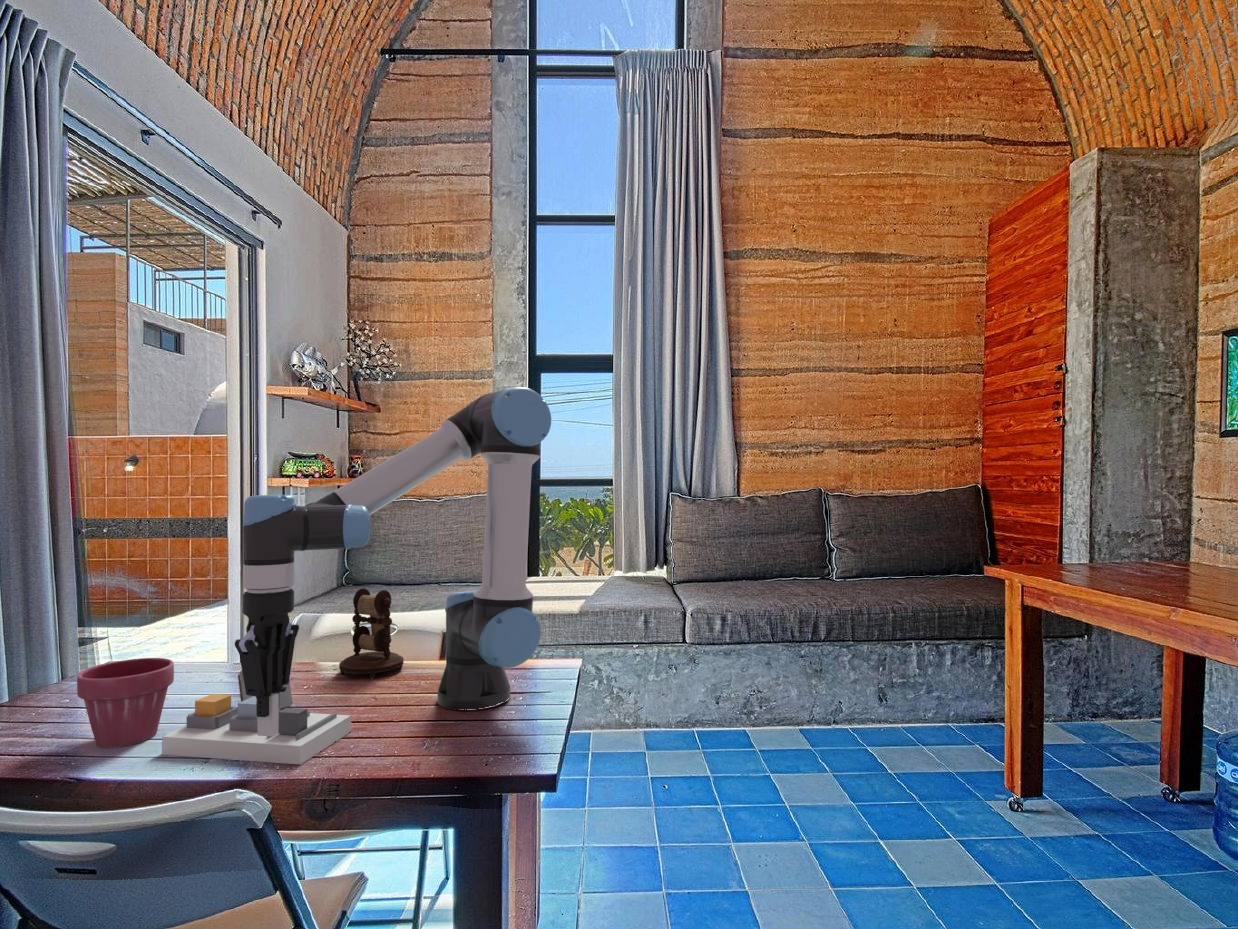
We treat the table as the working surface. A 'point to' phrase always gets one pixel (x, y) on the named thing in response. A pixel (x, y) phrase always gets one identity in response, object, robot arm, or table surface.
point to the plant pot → (125, 699)
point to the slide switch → (292, 720)
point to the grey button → (247, 708)
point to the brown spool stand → (371, 636)
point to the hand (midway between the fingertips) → (267, 734)
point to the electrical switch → (284, 697)
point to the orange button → (213, 705)
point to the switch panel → (253, 738)
